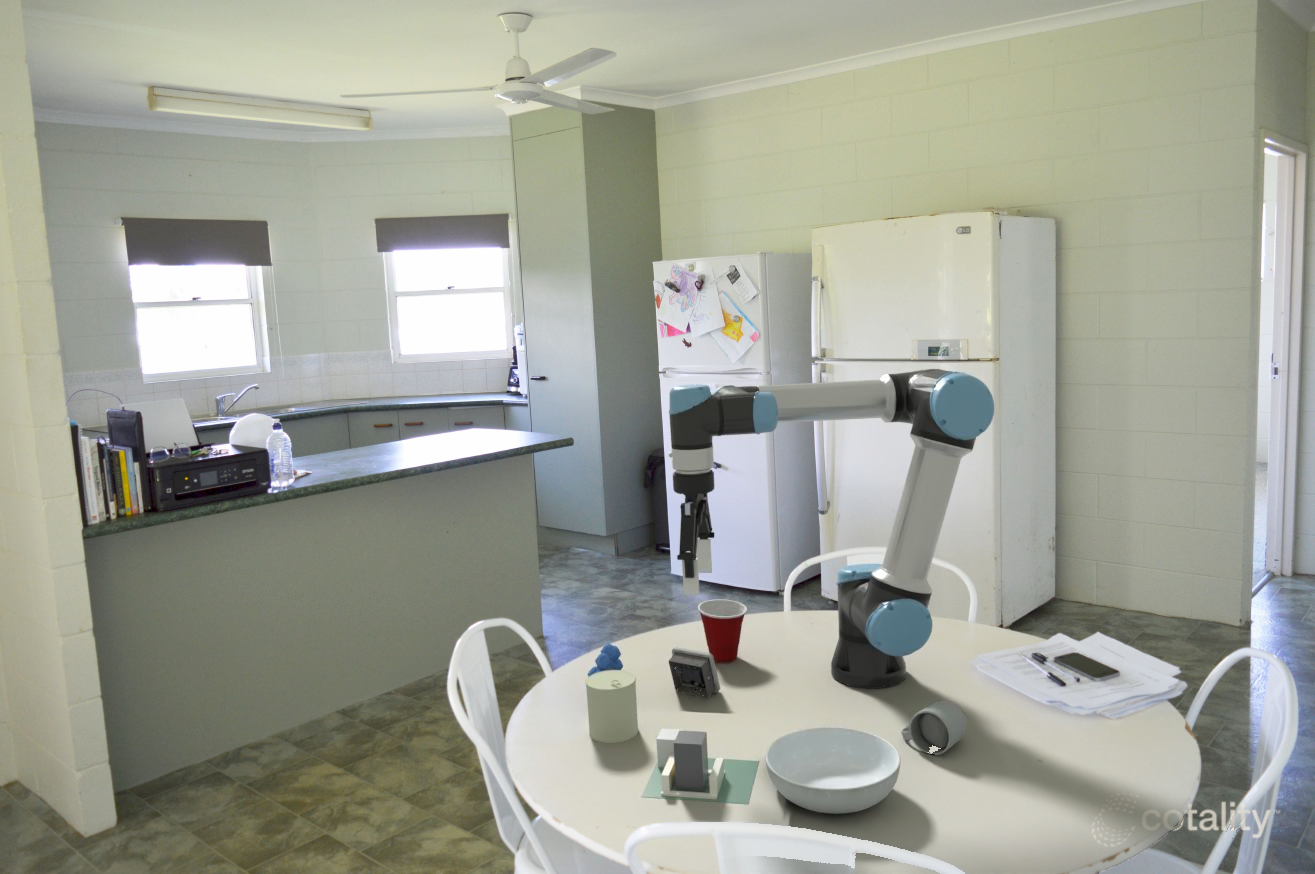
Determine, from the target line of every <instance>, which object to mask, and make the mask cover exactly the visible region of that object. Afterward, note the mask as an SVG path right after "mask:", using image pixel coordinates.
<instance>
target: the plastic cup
mask: <svg viewBox="0 0 1315 874" xmlns="http://www.w3.org/2000/svg"><path fill="white" fill-rule="evenodd" d="M697 610H698V612H699V613H700V614H699V615H700V617H701V621H702V625H703V629H704V634H705V635H704V636H705V640H706V645H707V649H708V653H711V654H712V655H713V657H714V662H715V663H719V664H727V663H728V664H729V663H732V662H734V661H736V660H737V657H738V654H739V653H738V652H739V645H740V639H741V633H742V626H743V621H744V618H745V615H746V614H747V612H748V608H747V606H746V605H744V604H743V603H742V602H739V601H735V600H730V599H716V598H715V599H711V600H705V601H703V602H700V603H699V604H698V605H697Z"/></svg>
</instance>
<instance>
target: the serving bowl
mask: <svg viewBox="0 0 1315 874" xmlns="http://www.w3.org/2000/svg"><path fill="white" fill-rule="evenodd" d="M764 759H765V760H764V761H765V765H766V770H767V774H768V775H769V779H770V781H771V783H772V785H773V787H775V789H776V790H777V791H778V792H779V793H780V794H781V795H782V796H783V797H784V798H785V799H786V800H788V801H789V802H791V803H792V804H794V805H796V806H798V807H800V808H803V809H805V810H809V811H813V812H816V813H821V814H822V813H823V814H850V813H855V812H860V811H863V810H867V809H869V808H871V807H873V806H876V805H877V804H879V803H880V802H882V801H883V800H884V799H885V798H886V797H887V796H888V795H889V794H890V793H891V791H892V790H893V789H894V787H895V786H896V784H897V782H898V781H897V780H898V779H899V778H898V777H899V774H900V770H901V761H902V760H901V755H900V754H899V751H898V750H897V749H896V747H895V746H893V745H892V743H890V742H889V741H888V740H886V739H884V738H882V737H881V736H879V735H876V734H874V733H871V732H868V731H865V730H861V729H857V728H850V727H840V726H819V727H807V728H803V729H798V730H795V731H792V732H789V733H787V734H784V735H783V736H781V737H779V738H778V739H776V740H774V741H773V742H772V743H771V744H770V746H768V748H767V750H766V752H765V755H764Z"/></svg>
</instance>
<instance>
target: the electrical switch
mask: <svg viewBox="0 0 1315 874" xmlns="http://www.w3.org/2000/svg"><path fill="white" fill-rule="evenodd" d="M668 665H669V668H670V669H669V670H670V674H671V678H672V682H673V685H674V690H675V692H677V693H680V694H681V693H682V694H687V695H691V696H695V697H700V698H705V699H708V698H710V696H711V695H712V694H713V693H715V694H719V692H720V690H721V686H720V680H719V677H718V672H717V667H716V662H714V657H713V655H712V654H711V653H709V652H705V651H701V650H700V651H699V650H695V649H689V648H684V647H678V646H675V647H673V648H672V649H671V657H670V659H669V660H668ZM695 689H696V690H695Z"/></svg>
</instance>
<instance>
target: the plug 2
mask: <svg viewBox="0 0 1315 874" xmlns="http://www.w3.org/2000/svg"><path fill="white" fill-rule="evenodd" d="M673 747H674V766H675V781H676V790H678V791H693V792H704V790H705V788H706V785H707V782H708V779H709V773H708V758H709V755H708V735H707V731H697V730H695V731H694V730H685V731H680V730H679V732H678V734H677V737H676V739H675V741H674V746H673Z"/></svg>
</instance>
